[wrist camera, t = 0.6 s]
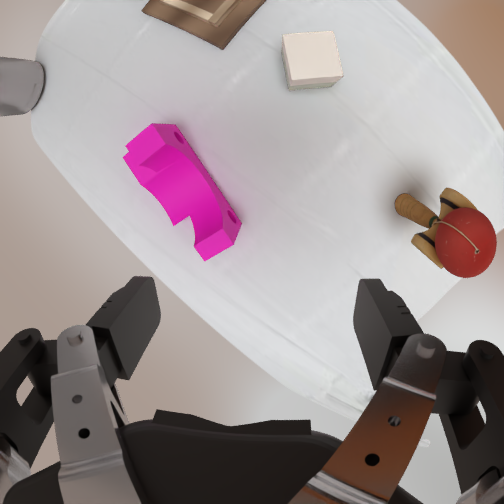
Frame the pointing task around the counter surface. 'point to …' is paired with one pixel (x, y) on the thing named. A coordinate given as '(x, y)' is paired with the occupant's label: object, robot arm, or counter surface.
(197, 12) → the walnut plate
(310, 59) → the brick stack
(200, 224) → the toy block
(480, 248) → the kendama
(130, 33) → the counter surface
